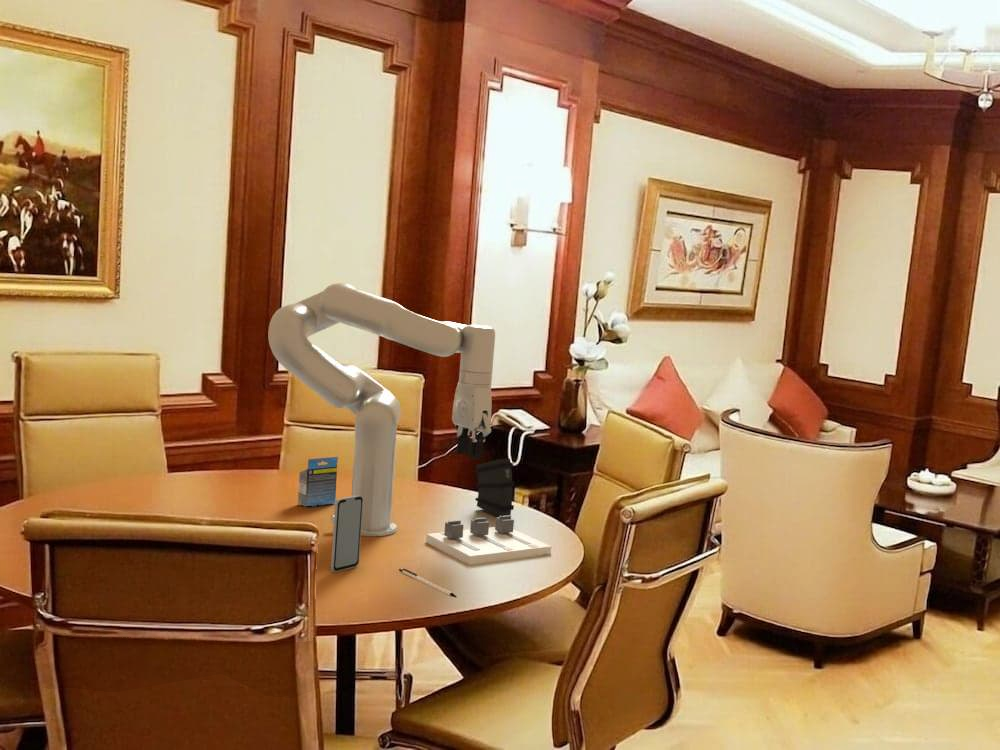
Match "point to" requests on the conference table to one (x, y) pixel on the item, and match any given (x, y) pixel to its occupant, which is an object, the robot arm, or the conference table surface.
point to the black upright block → (495, 487)
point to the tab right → (504, 524)
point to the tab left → (454, 529)
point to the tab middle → (479, 526)
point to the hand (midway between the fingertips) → (469, 455)
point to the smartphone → (346, 533)
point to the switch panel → (488, 546)
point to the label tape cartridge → (318, 482)
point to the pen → (426, 582)
